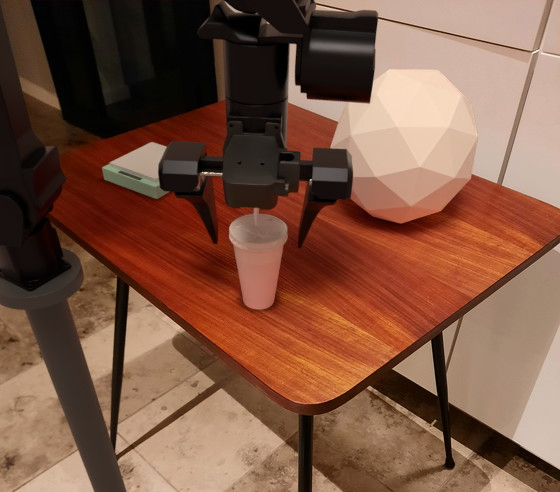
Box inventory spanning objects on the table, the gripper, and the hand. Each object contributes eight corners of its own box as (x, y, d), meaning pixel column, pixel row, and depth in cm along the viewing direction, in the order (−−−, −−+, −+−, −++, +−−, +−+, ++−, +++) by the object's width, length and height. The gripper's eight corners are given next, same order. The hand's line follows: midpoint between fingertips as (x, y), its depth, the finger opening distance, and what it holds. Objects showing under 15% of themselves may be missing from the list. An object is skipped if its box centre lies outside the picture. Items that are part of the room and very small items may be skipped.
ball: (419, 251, 88) (532, 172, 72) (324, 243, 75) (436, 146, 60) (381, 149, 92) (481, 55, 77) (286, 126, 80) (382, 8, 65)
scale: (156, 199, 84) (154, 183, 82) (104, 179, 88) (100, 163, 86) (203, 172, 90) (201, 156, 88) (152, 155, 94) (149, 140, 92)
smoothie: (271, 279, 70) (273, 171, 60) (294, 308, 66) (300, 197, 56) (223, 291, 68) (217, 182, 58) (244, 322, 64) (241, 210, 54)
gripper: (132, 124, 45) (158, 283, 56) (365, 134, 44) (344, 293, 55) (161, 78, 53) (178, 225, 64) (358, 87, 52) (341, 233, 63)
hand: (257, 244), depth 61 cm, fingers open, 9 cm apart
